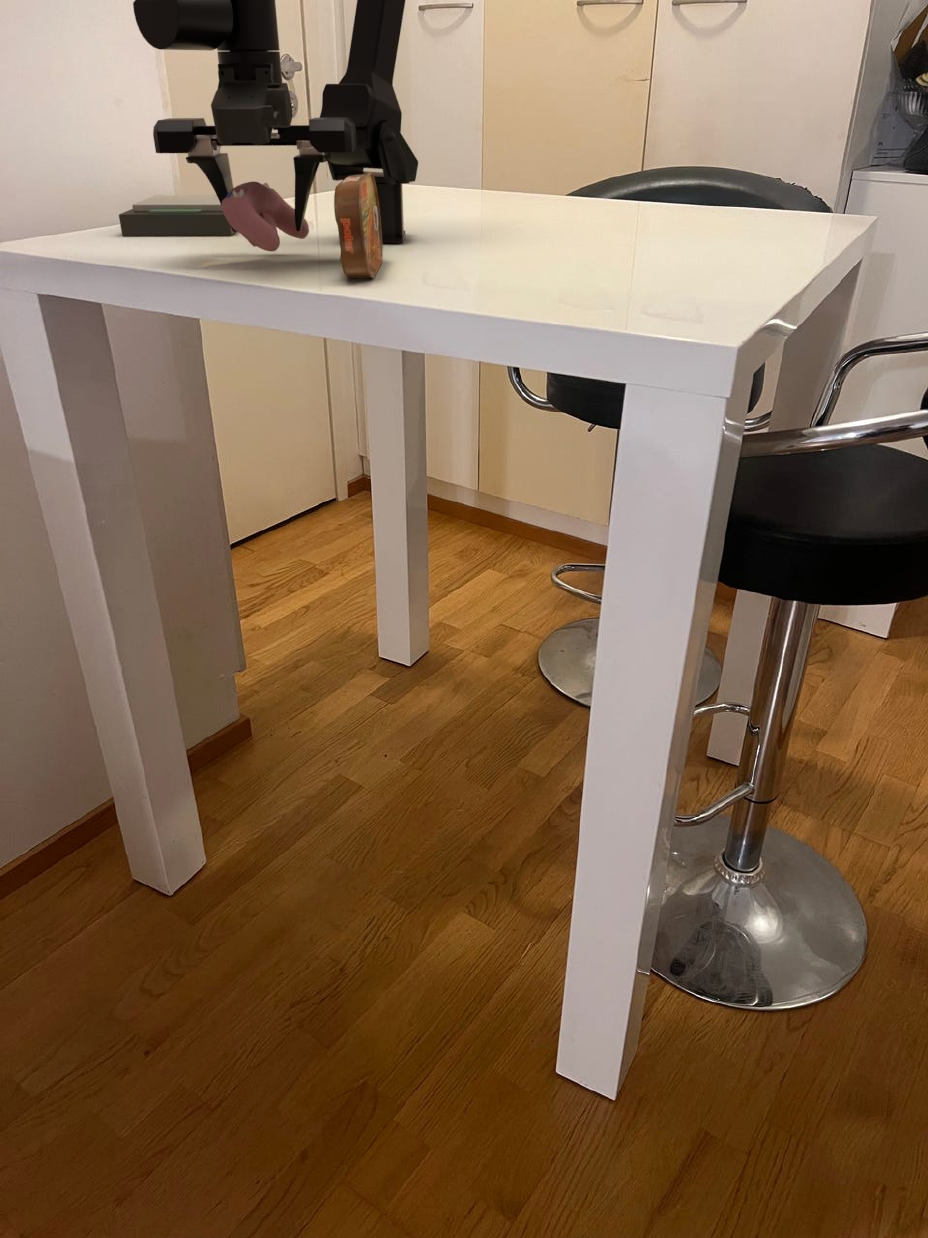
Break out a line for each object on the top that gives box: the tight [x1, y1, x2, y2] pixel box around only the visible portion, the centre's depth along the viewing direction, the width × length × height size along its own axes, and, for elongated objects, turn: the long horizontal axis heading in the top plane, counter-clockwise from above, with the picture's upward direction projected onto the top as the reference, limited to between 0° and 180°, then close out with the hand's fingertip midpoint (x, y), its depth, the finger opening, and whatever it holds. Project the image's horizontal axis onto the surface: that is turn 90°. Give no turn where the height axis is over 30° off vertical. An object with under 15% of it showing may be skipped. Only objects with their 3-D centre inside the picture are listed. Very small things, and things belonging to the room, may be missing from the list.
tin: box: [333, 173, 384, 279], centre depth 89 cm, size 15×3×8 cm, turn 179°
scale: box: [118, 194, 237, 237], centre depth 116 cm, size 13×13×3 cm
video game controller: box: [222, 181, 310, 253], centre depth 94 cm, size 10×5×7 cm, turn 168°
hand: (267, 231), depth 95 cm, fingers closed on video game controller, 6 cm apart
